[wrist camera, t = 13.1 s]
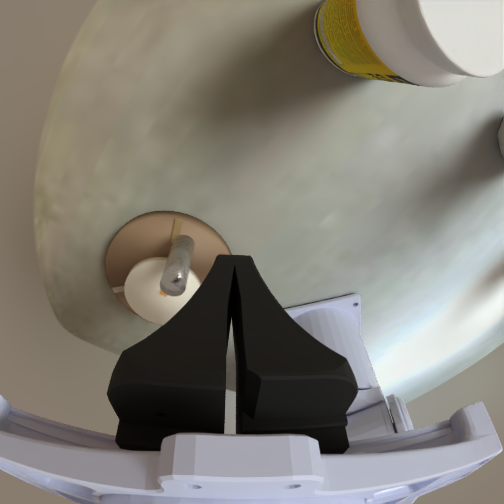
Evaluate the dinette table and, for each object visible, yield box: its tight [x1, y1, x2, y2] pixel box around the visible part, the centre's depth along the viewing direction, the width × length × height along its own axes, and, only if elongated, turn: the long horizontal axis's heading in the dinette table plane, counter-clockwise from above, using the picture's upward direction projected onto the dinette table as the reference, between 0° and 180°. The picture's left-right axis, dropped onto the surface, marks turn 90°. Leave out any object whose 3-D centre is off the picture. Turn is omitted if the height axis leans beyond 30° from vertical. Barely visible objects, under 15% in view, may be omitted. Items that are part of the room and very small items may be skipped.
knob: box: [124, 235, 201, 325], centre depth 19 cm, size 8×6×4 cm
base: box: [105, 211, 232, 315], centre depth 23 cm, size 10×10×2 cm
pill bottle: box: [314, 0, 504, 87], centre depth 10 cm, size 6×6×11 cm
